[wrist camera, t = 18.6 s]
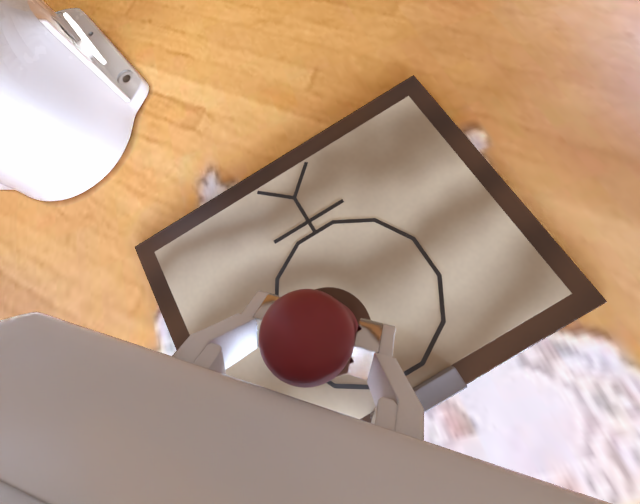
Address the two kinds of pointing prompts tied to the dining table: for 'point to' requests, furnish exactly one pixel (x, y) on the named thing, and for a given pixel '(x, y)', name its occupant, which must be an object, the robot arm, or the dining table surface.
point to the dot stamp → (310, 335)
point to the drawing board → (377, 251)
